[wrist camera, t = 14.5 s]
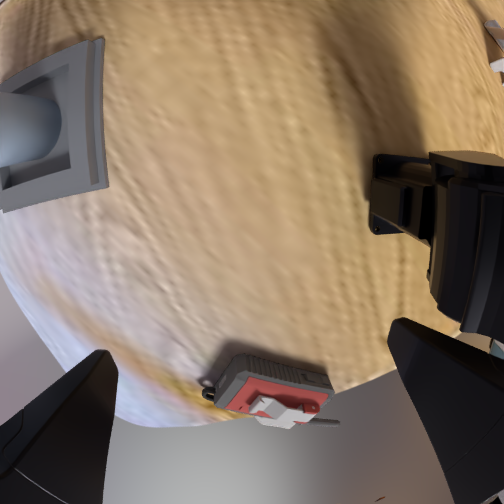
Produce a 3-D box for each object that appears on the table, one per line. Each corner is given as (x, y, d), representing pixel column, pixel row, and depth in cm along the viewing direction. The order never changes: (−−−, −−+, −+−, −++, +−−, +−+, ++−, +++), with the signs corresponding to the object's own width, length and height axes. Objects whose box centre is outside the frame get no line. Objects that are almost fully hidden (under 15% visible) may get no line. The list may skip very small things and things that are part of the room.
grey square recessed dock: (105, 40, 13) (94, 31, 11) (109, 187, 17) (98, 191, 15) (0, 89, 12) (-13, 88, 10) (7, 211, 16) (-6, 217, 15)
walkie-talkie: (194, 394, 26) (331, 420, 31) (192, 426, 22) (340, 444, 27) (227, 343, 24) (372, 381, 29) (229, 377, 20) (386, 405, 25)
